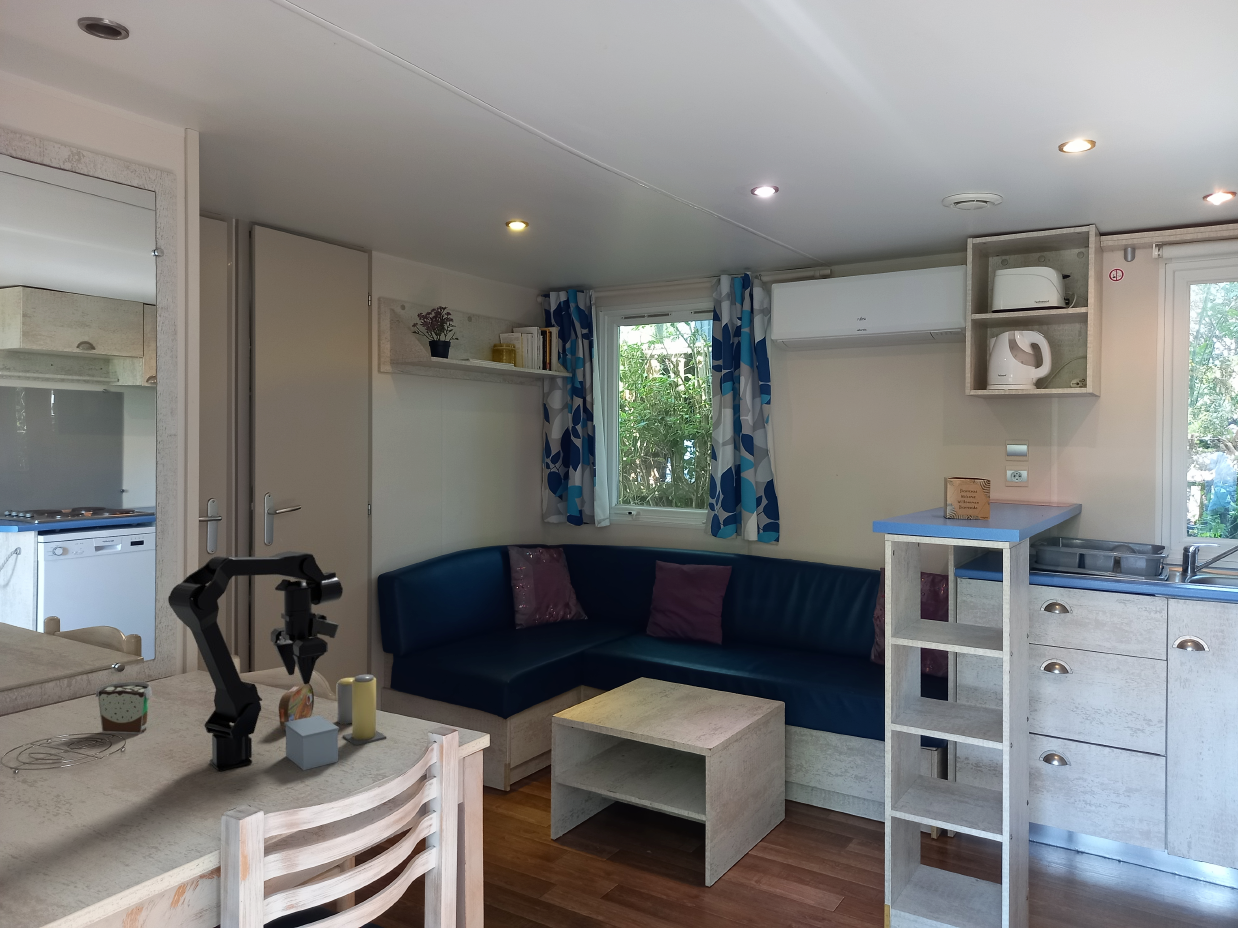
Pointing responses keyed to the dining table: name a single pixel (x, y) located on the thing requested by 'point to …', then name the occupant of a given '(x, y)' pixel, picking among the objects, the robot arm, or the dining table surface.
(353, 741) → the pad
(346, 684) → the cylinder
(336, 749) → the block
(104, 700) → the food container
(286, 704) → the tin
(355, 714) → the cylinder
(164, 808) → the dining table surface
